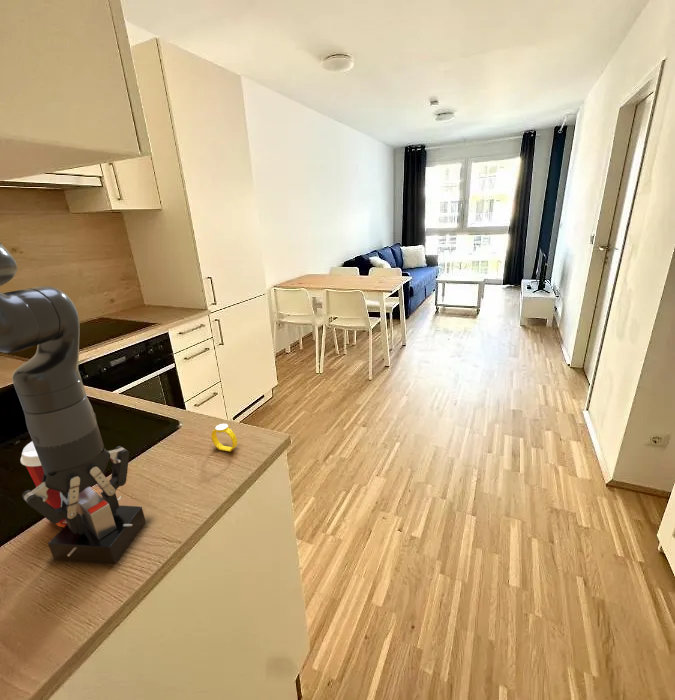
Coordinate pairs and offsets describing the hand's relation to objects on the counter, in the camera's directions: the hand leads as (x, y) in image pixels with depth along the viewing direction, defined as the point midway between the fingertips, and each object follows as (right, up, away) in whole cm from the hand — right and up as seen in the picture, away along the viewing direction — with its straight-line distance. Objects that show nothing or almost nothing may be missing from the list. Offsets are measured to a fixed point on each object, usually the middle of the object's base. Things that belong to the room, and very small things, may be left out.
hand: (96, 521), depth 57 cm
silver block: (0, 0, 0) cm, 0 cm away
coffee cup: (-8, -2, +7) cm, 11 cm away
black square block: (0, -4, +1) cm, 4 cm away
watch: (+13, +5, +24) cm, 28 cm away
